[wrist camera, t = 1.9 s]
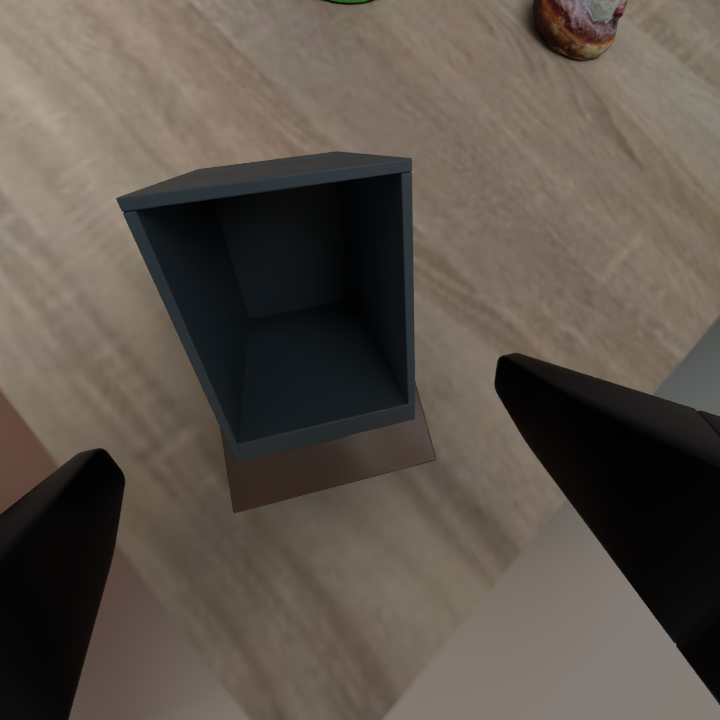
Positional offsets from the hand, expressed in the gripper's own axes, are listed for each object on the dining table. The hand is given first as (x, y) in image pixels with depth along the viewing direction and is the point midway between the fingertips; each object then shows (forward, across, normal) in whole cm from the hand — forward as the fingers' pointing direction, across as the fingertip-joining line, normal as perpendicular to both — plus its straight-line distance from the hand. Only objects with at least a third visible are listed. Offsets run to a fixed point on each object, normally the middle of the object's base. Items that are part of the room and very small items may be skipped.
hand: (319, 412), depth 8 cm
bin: (+14, 0, +4) cm, 15 cm away
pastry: (+30, -28, -11) cm, 43 cm away
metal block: (+9, 0, +9) cm, 13 cm away
